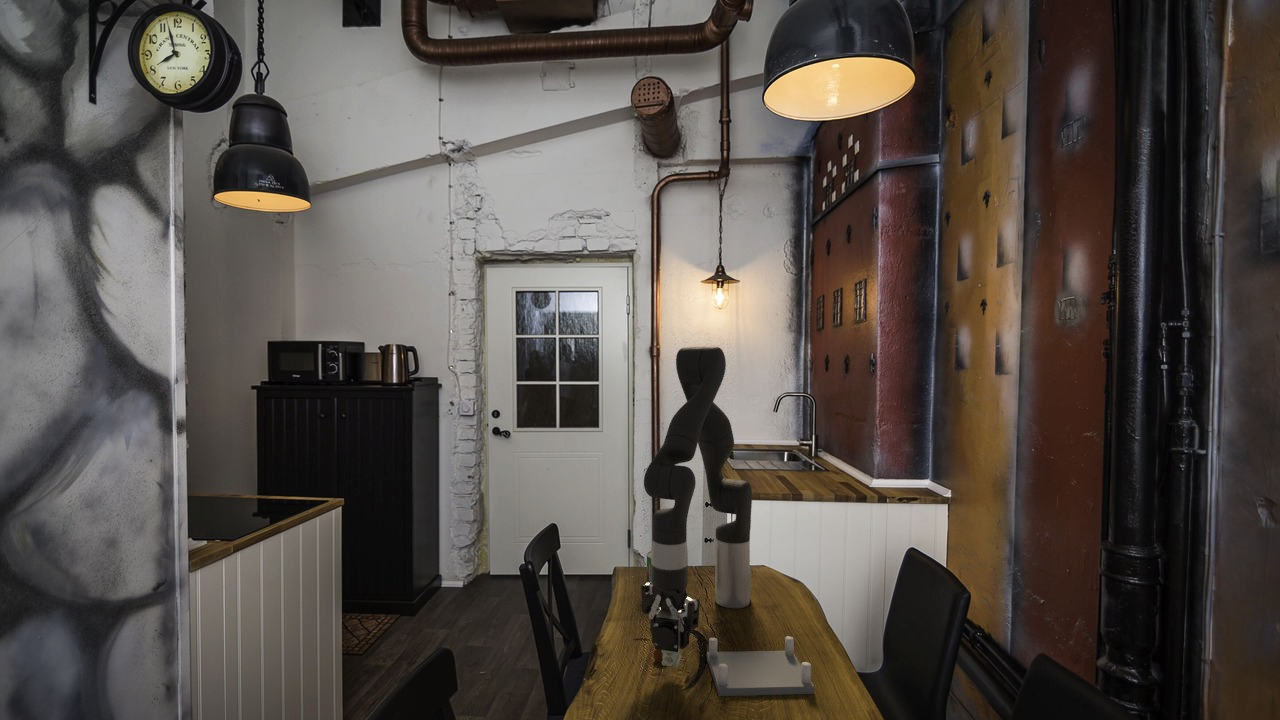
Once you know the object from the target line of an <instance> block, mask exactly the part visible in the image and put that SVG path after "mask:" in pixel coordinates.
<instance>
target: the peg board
mask: <svg viewBox="0 0 1280 720" xmlns="http://www.w3.org/2000/svg"><path fill="white" fill-rule="evenodd" d="M784 641H785V642H784V647H785V648H784V650H755V651H754V650H749V651H747V650H746V651H718V639H717V637H710V638H709V639H708V651H706V661H707V664H708V666H709V669H710V672H711V676H712V679H713V681H714V685H715V688H716V691H717V694H718V695H717V696H718V697H735V696H736V697H739V696H740V697H741V696H743V697H744V696H776V695H778V696H779V695H780V696H782V695H815V685H814V683H813V682H812V664H811V662H807V661H803V662H800V661H799V659H798V658H797V656H796V655H795V653H794V651H795V650H794V649H795V648H794V646H795V645H794V644H795V642H794V641H795V640H794V637H793V636H789V635H787V636H785V637H784Z"/></svg>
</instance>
